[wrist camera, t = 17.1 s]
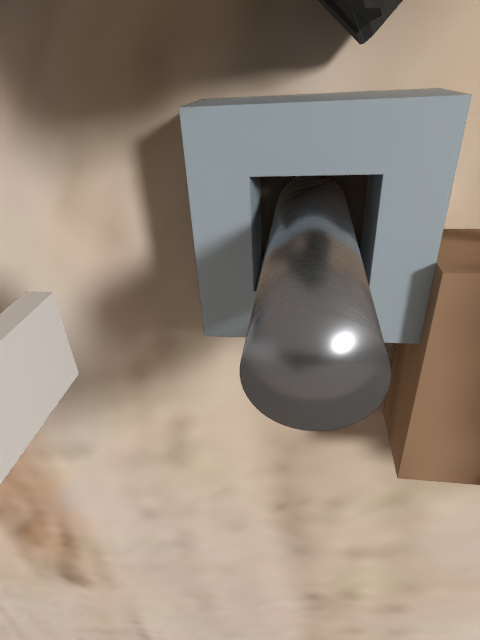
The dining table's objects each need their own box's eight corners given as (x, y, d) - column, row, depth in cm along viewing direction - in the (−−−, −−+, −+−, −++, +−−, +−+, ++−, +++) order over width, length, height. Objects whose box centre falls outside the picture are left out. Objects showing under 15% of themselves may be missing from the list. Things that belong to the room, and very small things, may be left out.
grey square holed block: (219, 297, 24) (204, 335, 20) (202, 99, 19) (178, 107, 15) (402, 301, 22) (419, 343, 19) (439, 88, 17) (471, 94, 14)
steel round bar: (276, 242, 22) (243, 426, 11) (275, 174, 20) (235, 311, 9) (343, 242, 21) (380, 435, 10) (349, 172, 19) (402, 316, 8)
